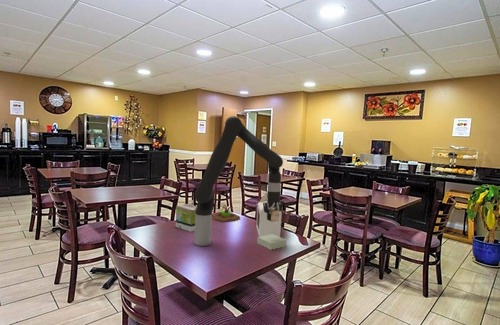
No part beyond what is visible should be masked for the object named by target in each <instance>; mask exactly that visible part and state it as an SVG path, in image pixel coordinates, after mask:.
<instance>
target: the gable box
mask: <svg viewBox="0 0 500 325" xmlns="http://www.w3.org/2000/svg"><path fill="white" fill-rule="evenodd" d="M267 201H268V198H267V193H265V194H263V196H262V197H261V198H260V200H259V201H258V202H257V207H256V208H257V211H256V226H255V227H256V230H257V234H258V237H260V236H265V235H270V234H274V235H276V236H279V237H281V228H282V214H283V210H282V211H280V212H279V221H276V222H271V221H268V220H267V213H265V212H264V207H263V203H265V202H267ZM273 209H274V208H273Z"/></svg>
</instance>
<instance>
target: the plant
mask: <svg viewBox="0 0 500 325" xmlns="http://www.w3.org/2000/svg"><path fill="white" fill-rule="evenodd" d="M230 208H231V210H234V207H233V206H229V207H228V208H227V205H226V204H224V205H222V209H224V210H220V211H219V212H218V213H214V214H212V221H215V222H219V223H231V222H237V221H239V220H241V216H240V215H237V214H235V213H233V212H232V211H231V210H230Z"/></svg>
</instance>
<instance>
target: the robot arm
mask: <svg viewBox="0 0 500 325" xmlns="http://www.w3.org/2000/svg"><path fill="white" fill-rule="evenodd" d="M223 127H224V128H223V130H222V134H221V136H220V139H219V140H218V143H217V144H216V146H215V148H214V149H213V151H212V152H211V153H212V154H211V155H210V158H209V159H208V160H209V161H208V163H207V165H206V168H205V171H204V173H203V176H202V179H201V180H200V182H199V184H198V186H197V187H196V189H195V191H194V199H195V201H196V202H197V205H196V206H197V208H196V215H195V231H194V237H193V238H194V239H193V241H194V244H195V245H196V246H198V247H205V246H209V245H211V242H212V240H211V239H212V221H213V218H212V215H213V209H214V202H215V200H214V199H215V190H214V186H215V183H216V182H217V180H218V178H219V177H220V175H221V174H222V172H223V170H224V169H225V167H226V166H227V165H226V164H227V163H228V160H229V158H230V156H231V151H232V149H233V145H234V142H235V141H236V139H237V138H239V139H241V141H243V142H244V143H245V144H246V145H248V146H247V147H249V148H250V149H251V150H252V151H253V152H255V154H257V155H258V156H259V157H260V158H262V159H264V160H265V161H266V162H267V167H268V183H267V198H268V201H267V202H265V203H263V207H264V212H265V213H267V219H268V220H271V211H272V210H273V208H274V209H276V210H279V212H280V211H282V212H283V207H284V204H285V203H284V200H280V199H281V194H282V193H281V191H282V182H281V181H282V176H281V175H282V174H281V170H280V168H281V167H282V166H283V164H284V160H283V158H282V157H281V156H280V155H279V154H278V153H277V152H275V151H273V149H271V148H270V147H269V146H268V145H267V144H266V143H265V142H264V141H262V140H261V139H260V138H258V137H257V136H256V135H254V134H253V133H252V132H251V131H249V130H248V128H246V127H245V125H244V123H243V122H242V120H241V119H240V117H237V116H230V117H227V119H226V120H225V123H224V126H223Z"/></svg>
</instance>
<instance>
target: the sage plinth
mask: <svg viewBox="0 0 500 325" xmlns="http://www.w3.org/2000/svg"><path fill="white" fill-rule="evenodd" d="M256 243H257V244H258V245H259V246H262V247H263V246H264V248H265V247H266V248H265V249H267V248H268V250H269V249H270V250H269V251H273V250H277V249H280V247H281V248H284V247H286V246H287V239H286V238H282V237H281V236H280V237H279V236H276V235H274V234H270V235H265V236H260V237H259V236H257V239H256ZM276 248H277V249H276ZM272 249H273V250H272Z"/></svg>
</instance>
